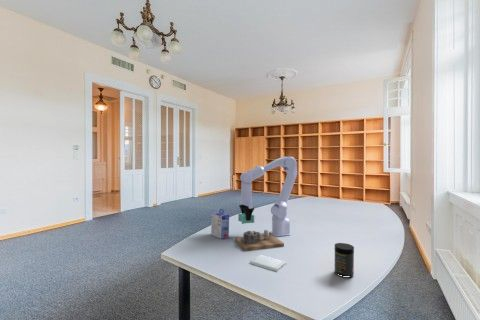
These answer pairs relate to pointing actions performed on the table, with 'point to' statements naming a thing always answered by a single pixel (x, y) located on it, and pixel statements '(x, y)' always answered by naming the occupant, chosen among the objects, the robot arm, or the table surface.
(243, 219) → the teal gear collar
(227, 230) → the ink cartridge box
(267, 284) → the table surface
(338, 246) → the supplement container
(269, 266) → the hard drive
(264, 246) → the gear board
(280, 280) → the table surface
